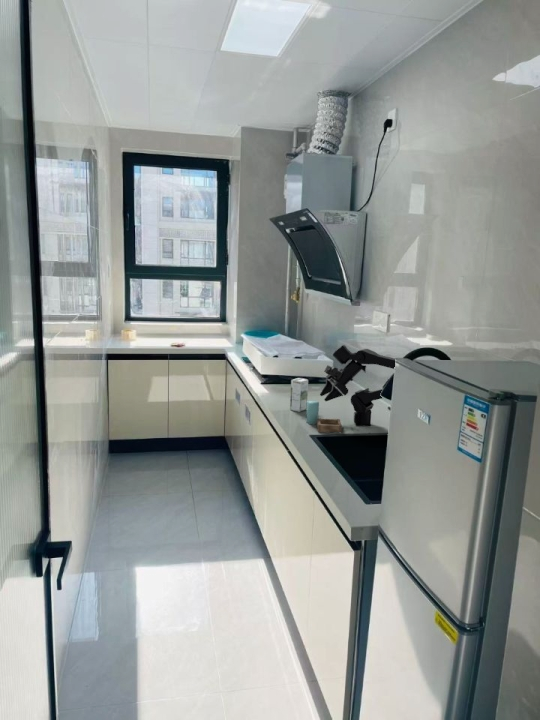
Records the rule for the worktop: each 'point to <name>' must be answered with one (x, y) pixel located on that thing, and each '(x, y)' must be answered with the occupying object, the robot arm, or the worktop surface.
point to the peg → (312, 412)
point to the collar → (329, 425)
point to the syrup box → (299, 394)
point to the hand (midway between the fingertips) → (322, 397)
